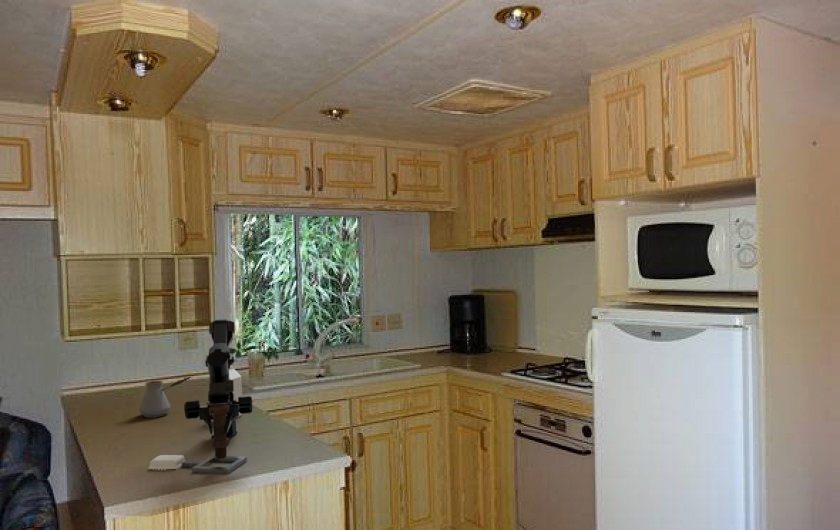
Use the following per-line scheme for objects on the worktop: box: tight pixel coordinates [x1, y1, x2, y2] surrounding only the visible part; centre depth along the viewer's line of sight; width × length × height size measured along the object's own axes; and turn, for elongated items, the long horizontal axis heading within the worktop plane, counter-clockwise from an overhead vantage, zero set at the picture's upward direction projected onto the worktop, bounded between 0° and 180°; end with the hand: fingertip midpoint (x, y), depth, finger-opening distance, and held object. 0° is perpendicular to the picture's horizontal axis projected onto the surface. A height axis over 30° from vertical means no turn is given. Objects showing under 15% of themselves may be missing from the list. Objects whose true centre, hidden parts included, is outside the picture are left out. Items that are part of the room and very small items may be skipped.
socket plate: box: [181, 455, 248, 475], centre depth 174 cm, size 16×11×1 cm, turn 79°
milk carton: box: [229, 365, 244, 419], centre depth 232 cm, size 7×7×19 cm
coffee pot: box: [138, 376, 193, 419], centre depth 238 cm, size 21×12×15 cm, turn 84°
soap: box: [148, 454, 187, 471], centre depth 176 cm, size 9×7×3 cm
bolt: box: [209, 404, 230, 460], centre depth 174 cm, size 6×5×15 cm
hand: (218, 432), depth 173 cm, fingers closed on bolt, 4 cm apart
